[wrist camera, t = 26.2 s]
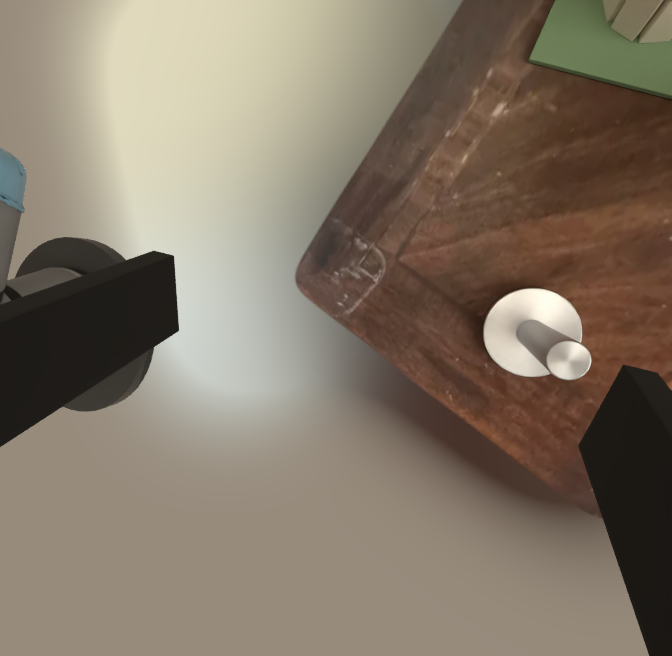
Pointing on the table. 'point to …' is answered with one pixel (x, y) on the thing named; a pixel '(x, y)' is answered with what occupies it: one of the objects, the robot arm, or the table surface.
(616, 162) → the table surface
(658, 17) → the cream slatted holder
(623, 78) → the mat
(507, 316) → the stand
